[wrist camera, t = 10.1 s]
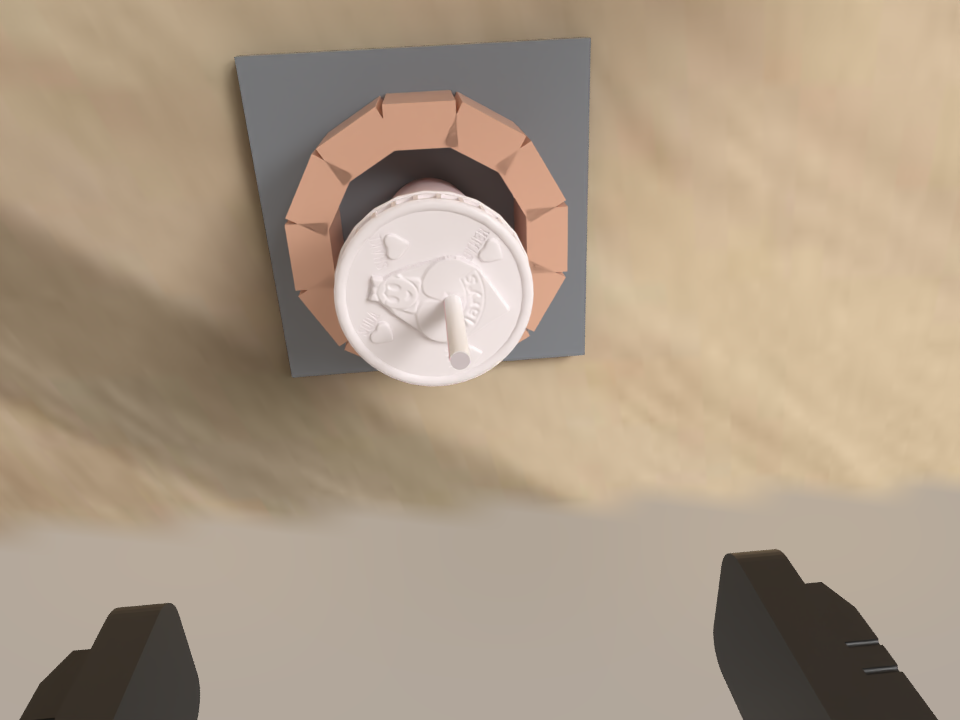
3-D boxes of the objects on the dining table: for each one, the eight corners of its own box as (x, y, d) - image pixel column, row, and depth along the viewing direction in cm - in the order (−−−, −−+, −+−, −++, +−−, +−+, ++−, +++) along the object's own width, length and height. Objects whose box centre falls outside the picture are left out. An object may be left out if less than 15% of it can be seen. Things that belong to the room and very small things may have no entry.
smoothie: (486, 300, 33) (531, 474, 20) (346, 278, 32) (302, 447, 19) (516, 159, 30) (588, 260, 18) (364, 131, 29) (326, 216, 17)
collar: (585, 37, 29) (616, 41, 25) (580, 346, 35) (604, 394, 31) (239, 55, 29) (207, 62, 24) (295, 368, 35) (277, 420, 30)
